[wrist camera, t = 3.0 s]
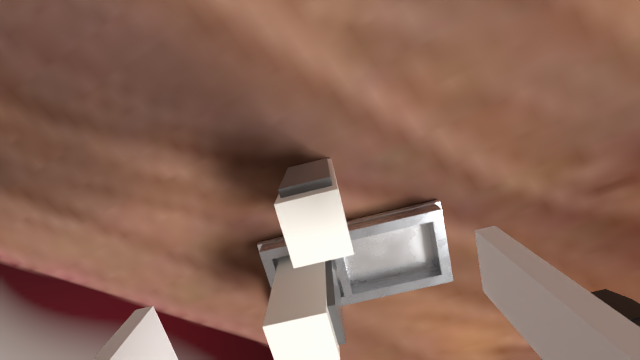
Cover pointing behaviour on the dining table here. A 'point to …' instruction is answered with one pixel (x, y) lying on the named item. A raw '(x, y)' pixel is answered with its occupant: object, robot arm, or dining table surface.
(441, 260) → the rail
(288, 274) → the block
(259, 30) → the dining table surface
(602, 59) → the dining table surface
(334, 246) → the block
